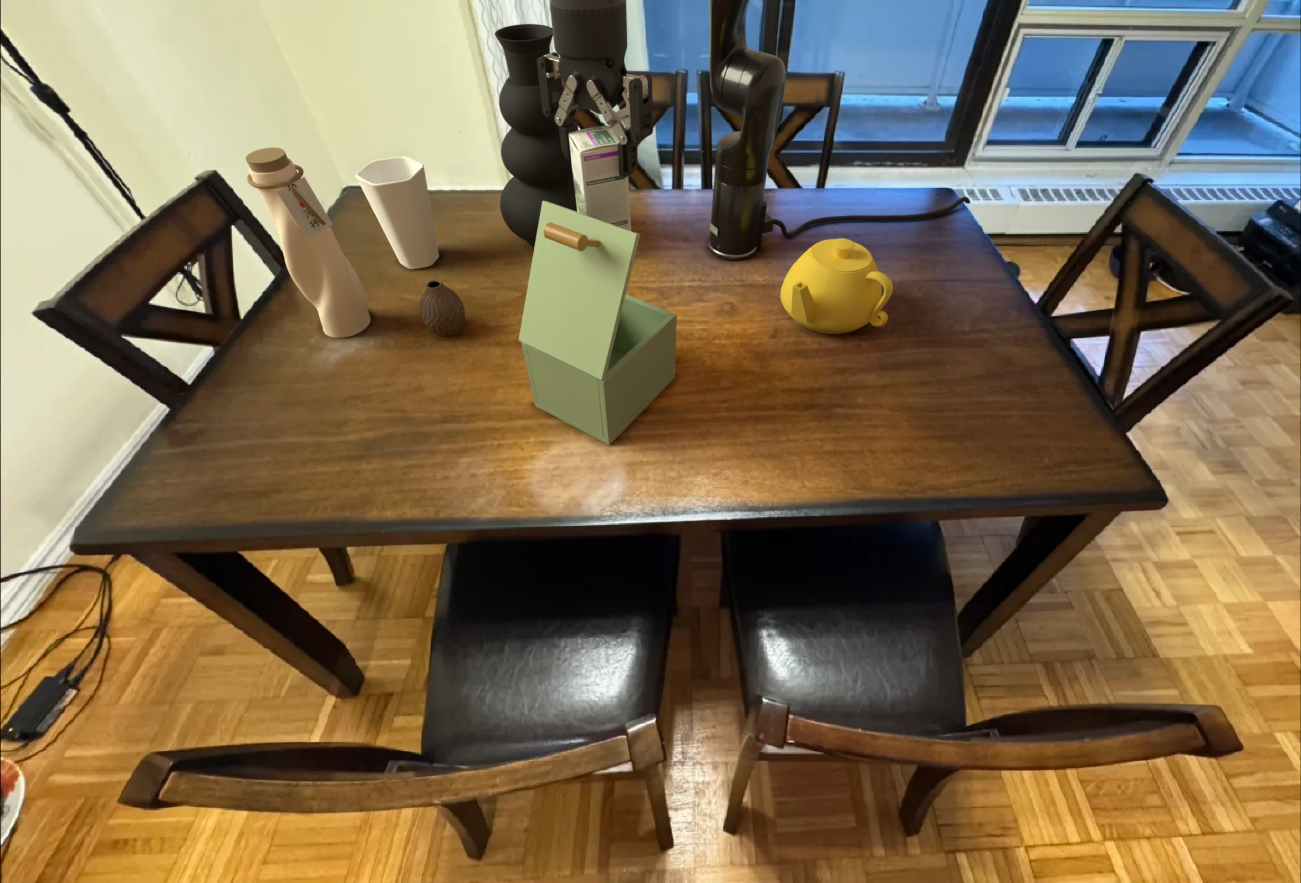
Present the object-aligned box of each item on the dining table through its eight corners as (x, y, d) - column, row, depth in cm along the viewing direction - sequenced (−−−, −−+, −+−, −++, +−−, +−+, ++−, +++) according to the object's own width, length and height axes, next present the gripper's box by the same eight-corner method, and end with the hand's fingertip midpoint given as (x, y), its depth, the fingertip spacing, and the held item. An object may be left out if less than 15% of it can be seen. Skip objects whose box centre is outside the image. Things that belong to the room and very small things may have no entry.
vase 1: (433, 346, 96) (416, 301, 89) (423, 323, 100) (406, 278, 93) (474, 334, 98) (461, 289, 91) (463, 311, 102) (449, 267, 95)
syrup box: (633, 257, 77) (630, 142, 66) (590, 266, 75) (579, 149, 64) (620, 235, 80) (614, 122, 69) (578, 243, 79) (566, 130, 68)
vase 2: (492, 256, 114) (443, 45, 87) (527, 210, 125) (493, 13, 99) (583, 268, 111) (560, 54, 84) (610, 220, 122) (597, 19, 96)
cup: (446, 241, 117) (421, 153, 105) (452, 267, 111) (425, 177, 98) (388, 250, 115) (355, 162, 102) (390, 278, 109) (355, 187, 96)
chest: (603, 345, 96) (598, 282, 87) (674, 377, 90) (677, 314, 82) (534, 405, 87) (520, 342, 78) (609, 445, 81) (603, 382, 72)
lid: (546, 201, 70) (517, 196, 66) (640, 234, 65) (615, 232, 61) (522, 339, 78) (495, 343, 74) (605, 379, 72) (580, 386, 68)
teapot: (814, 271, 109) (829, 206, 100) (906, 315, 101) (932, 248, 91) (746, 318, 100) (756, 250, 91) (840, 370, 91) (862, 302, 82)
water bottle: (392, 314, 101) (324, 147, 80) (359, 346, 96) (276, 175, 75) (343, 303, 104) (264, 137, 83) (308, 333, 98) (213, 163, 77)
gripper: (669, -2, 56) (666, 169, 69) (557, -21, 62) (573, 140, 74) (623, 15, 52) (628, 194, 65) (507, -7, 58) (532, 162, 70)
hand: (599, 165), depth 69 cm, fingers closed on syrup box, 7 cm apart
